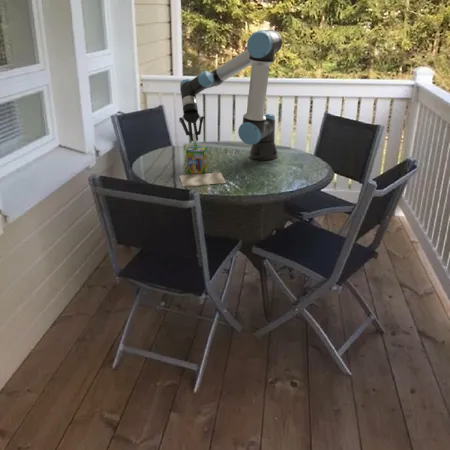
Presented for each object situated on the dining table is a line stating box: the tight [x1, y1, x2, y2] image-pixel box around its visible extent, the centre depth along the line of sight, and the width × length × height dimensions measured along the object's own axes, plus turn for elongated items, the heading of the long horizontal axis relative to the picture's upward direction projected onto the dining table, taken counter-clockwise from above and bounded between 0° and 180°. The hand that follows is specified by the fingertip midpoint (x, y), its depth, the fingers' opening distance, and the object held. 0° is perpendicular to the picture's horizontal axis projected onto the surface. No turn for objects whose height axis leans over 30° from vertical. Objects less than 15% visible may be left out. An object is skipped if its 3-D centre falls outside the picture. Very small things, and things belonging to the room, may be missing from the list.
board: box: [179, 172, 227, 188], centre depth 240 cm, size 20×16×1 cm
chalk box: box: [185, 141, 209, 175], centre depth 250 cm, size 9×9×15 cm
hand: (195, 146), depth 256 cm, fingers closed
